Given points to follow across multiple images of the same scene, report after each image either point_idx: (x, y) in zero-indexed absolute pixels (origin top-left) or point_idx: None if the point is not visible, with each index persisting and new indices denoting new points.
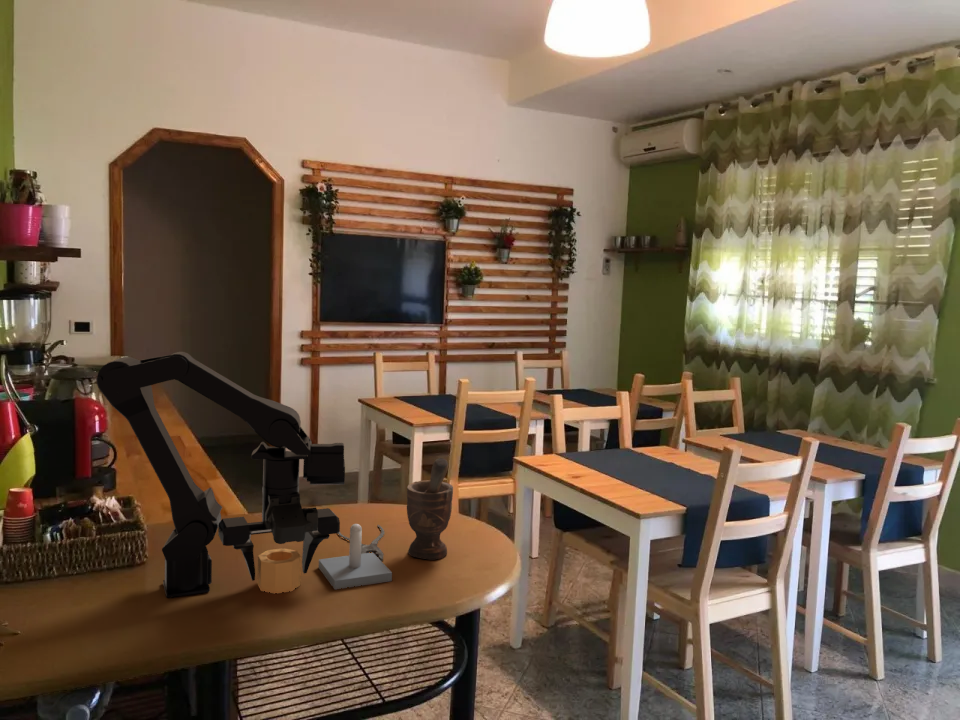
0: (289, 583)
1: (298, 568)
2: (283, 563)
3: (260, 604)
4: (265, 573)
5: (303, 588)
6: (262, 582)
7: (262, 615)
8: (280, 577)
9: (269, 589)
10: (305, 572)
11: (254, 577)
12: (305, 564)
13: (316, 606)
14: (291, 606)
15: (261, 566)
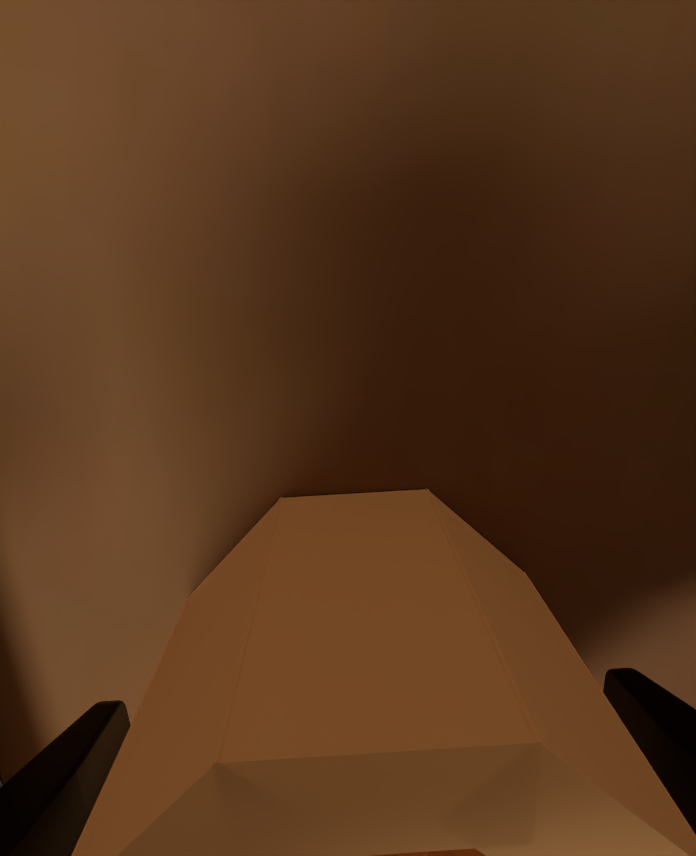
0: (294, 537)
1: (153, 712)
2: (386, 741)
3: (602, 306)
4: (572, 677)
5: (170, 529)
6: (548, 615)
7: (664, 16)
8: (402, 574)
9: (475, 537)
10: (103, 706)
11: (633, 687)
12: (54, 786)
13: (70, 57)
14: (333, 155)
15: (662, 787)
